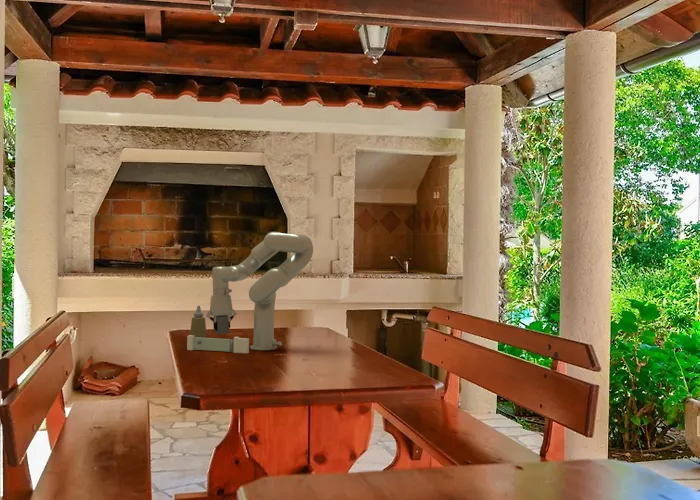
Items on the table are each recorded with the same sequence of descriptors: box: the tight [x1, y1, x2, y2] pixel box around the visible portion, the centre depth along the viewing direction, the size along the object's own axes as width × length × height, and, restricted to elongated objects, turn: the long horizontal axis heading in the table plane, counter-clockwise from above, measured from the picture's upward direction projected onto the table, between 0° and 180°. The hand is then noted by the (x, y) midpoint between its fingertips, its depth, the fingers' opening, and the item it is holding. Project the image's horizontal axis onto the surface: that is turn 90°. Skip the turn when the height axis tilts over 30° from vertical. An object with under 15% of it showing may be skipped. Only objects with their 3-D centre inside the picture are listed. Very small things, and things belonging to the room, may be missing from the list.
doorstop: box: [214, 316, 230, 335], centre depth 362 cm, size 5×7×8 cm
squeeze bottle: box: [189, 305, 207, 343], centre depth 376 cm, size 8×8×18 cm
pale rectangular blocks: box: [186, 334, 250, 354], centre depth 347 cm, size 30×3×7 cm, turn 77°
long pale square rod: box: [194, 337, 234, 353], centre depth 347 cm, size 19×2×6 cm, turn 77°
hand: (222, 329), depth 362 cm, fingers closed on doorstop, 5 cm apart
